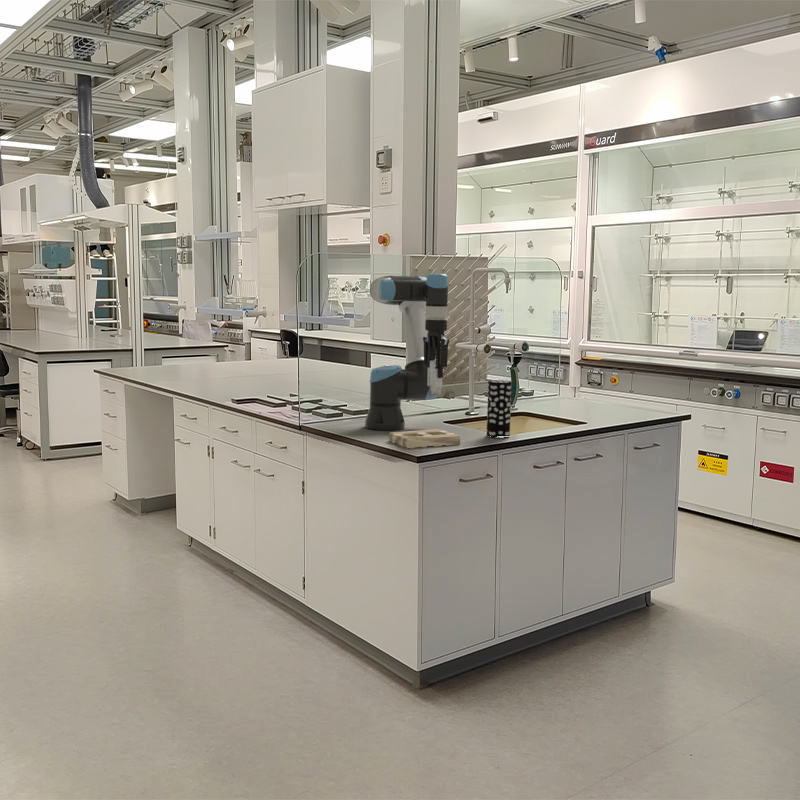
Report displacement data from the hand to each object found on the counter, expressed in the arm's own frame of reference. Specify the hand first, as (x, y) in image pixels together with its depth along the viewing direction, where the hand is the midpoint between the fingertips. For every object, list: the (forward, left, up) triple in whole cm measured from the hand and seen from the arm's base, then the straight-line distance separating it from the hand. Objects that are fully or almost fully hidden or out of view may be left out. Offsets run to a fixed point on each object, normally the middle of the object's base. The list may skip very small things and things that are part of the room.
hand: (434, 386), depth 276 cm
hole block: (+4, -6, -19) cm, 20 cm away
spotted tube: (+3, +25, -19) cm, 32 cm away
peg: (0, 0, -3) cm, 3 cm away
